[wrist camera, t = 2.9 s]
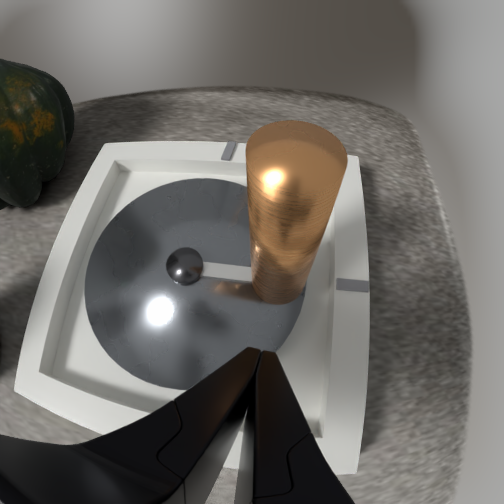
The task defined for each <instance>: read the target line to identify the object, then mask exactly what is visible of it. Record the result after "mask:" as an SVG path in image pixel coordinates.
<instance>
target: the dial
mask: <svg viewBox="0 0 504 504" xmlns="http://www.w3.org/2000/svg"><path fill="white" fill-rule="evenodd" d="M245 154H246V175H247V187H246V186H243V185H241V184H238V183H235V182H231V181H226V180H221V179H213V178H194V179H185V180H180V181H175V182H171V183H168V184H165V185H162V186H159V187H157V188H154V189H152V190H150V191H148V192H146V193H144V194H143V195H141V196H139V197H137V198H136V199H135V200H133V201H132V202H130V203H129V204H128V205H126V206H125V207H124V208H123V209H122V210H121V211H120V212H118V213H117V215H116V216H115V217H114V218H113V219H112V220H111V221H110V222H109V224H108V225H107V226H106V228H105V229H104V230H103V232H102V233H101V235H100V237H99V238H98V240H97V242H96V244H95V246H94V248H93V251H92V253H91V255H90V259H89V262H88V266H87V270H86V276H85V287H84V296H85V306H86V311H87V315H88V319H89V322H90V325H91V327H92V330H93V332H94V334H95V336H96V338H97V340H98V341H99V343H100V345H101V346H102V348H103V349H104V350H105V351H106V353H107V354H108V355H109V356H110V357H111V358H112V359H113V360H114V361H115V362H116V363H117V364H118V365H119V366H120V367H121V368H123V369H124V370H126V371H127V372H129V373H130V374H131V375H133V376H135V377H137V378H139V379H141V380H143V381H145V382H147V383H151V384H154V385H157V386H160V387H164V388H171V389H177V390H188V389H189V388H191V387H192V386H194V385H195V384H197V383H198V382H199V381H201V380H202V379H204V378H205V377H207V376H208V375H209V374H211V373H212V372H214V371H215V370H216V369H218V368H219V367H221V366H222V365H223V364H225V363H226V362H228V361H229V360H230V359H232V358H233V357H234V356H236V355H237V354H238V353H240V352H241V351H242V350H244V349H245V348H246V347H253V348H257V349H260V350H261V352H262V351H263V350H266V351H271V352H275V353H276V352H277V351H278V350H279V349H280V348H281V346H282V345H283V344H284V342H285V341H286V339H287V338H288V336H289V335H290V333H291V331H292V329H293V327H294V325H295V323H296V321H297V319H298V316H299V314H300V312H301V308H302V305H303V301H304V298H305V291H306V283H307V278H308V276H309V273H310V270H311V268H312V265H313V263H314V260H315V257H316V255H317V252H318V249H319V246H320V244H321V241H322V238H323V236H324V233H325V230H326V227H327V224H328V222H329V219H330V216H331V213H332V210H333V207H334V204H335V201H336V198H337V196H338V193H339V190H340V187H341V184H342V180H343V177H344V174H345V171H346V168H347V164H348V157H347V153H346V150H345V148H344V146H343V144H342V143H341V142H340V140H339V139H338V138H337V137H336V136H334V135H333V134H332V133H330V132H329V131H327V130H326V129H324V128H322V127H320V126H317V125H315V124H312V123H308V122H303V121H294V120H286V121H278V122H274V123H270V124H268V125H265V126H263V127H261V128H259V129H258V130H257V131H255V132H254V133H253V134H252V135H251V137H250V138H249V140H248V142H247V144H246V149H245Z"/></svg>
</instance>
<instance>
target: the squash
mask: <svg viewBox="0 0 504 504" xmlns="http://www.w3.org/2000/svg"><path fill="white" fill-rule="evenodd" d="M73 130H74V110H73V107H72V103H71V100H70V98H69V96H68V94H67V92H66V90H65V88H64V87H63V86H62V84H61V83H60V82H59V81H58V80H56V79H55V78H54V77H53V76H51V75H50V74H48V73H46V72H44V71H41V70H38V69H36V68H33V67H31V66H28V65H25V64H20V63H15V62H11V61H6V60H3V59H0V210H1V209H3V208H5V207H6V206H8V205H9V204H11V205H13V206H17V207H26V206H29V205H32V204H33V203H34V202H36V201H37V199H38V197H39V195H40V192H41V189H42V182H47V181H50V180H51V179H53V178H55V177H56V176H57V175H58V173H59V172H60V170H61V168H62V166H63V164H64V159H65V149H66V148H67V146H68V144H69V142H70V140H71V137H72V134H73Z"/></svg>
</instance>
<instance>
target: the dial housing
mask: <svg viewBox="0 0 504 504" xmlns="http://www.w3.org/2000/svg"><path fill="white" fill-rule="evenodd" d="M245 149H246V144H245V143H236V142H231V141H228V142H200V141H146V142H120V143H105V144H104V146H103V147H102V149H101V151H100V152H99V154H98V156H97V157H96V159H95V161H94V163H93V164H92V166H91V168H90V170H89V172H88V173H87V175H86V177H85V179H84V181H83V183H82V185H81V187H80V189H79V191H78V193H77V194H76V197H75V199H74V201H73V203H72V205H71V207H70V209H69V211H68V213H67V215H66V217H65V220H64V222H63V224H62V226H61V229H60V231H59V233H58V236H57V238H56V240H55V243H54V245H53V248H52V250H51V253H50V255H49V258H48V261H47V263H46V266H45V269H44V272H43V274H42V277H41V280H40V283H39V286H38V289H37V292H36V296H35V299H34V302H33V305H32V309H31V312H30V316H29V320H28V323H27V327H26V331H25V335H24V339H23V344H22V348H21V353H20V358H19V363H18V368H17V374H16V380H15V387H14V391H15V392H17V393H19V394H20V395H22V396H24V397H26V398H27V399H29V400H31V401H33V402H34V403H36V404H38V405H40V406H42V407H44V408H46V409H47V410H49V411H51V412H53V413H55V414H57V415H59V416H61V417H64V418H66V419H68V420H70V421H72V422H74V423H77V424H79V425H81V426H83V427H86V428H88V429H91V430H93V431H95V432H98V433H100V434H103V435H105V434H107V433H110V432H112V431H114V430H117V429H119V428H121V427H124V426H126V425H128V424H130V423H133V422H135V421H137V420H139V419H141V418H143V417H145V416H147V415H149V414H150V413H152V412H154V411H155V410H157V409H159V408H160V407H162V406H164V405H165V404H167V403H168V402H170V401H171V400H173V401H174V398H176V397H177V396H179V395H180V394H182V393H183V392H185V391H186V390H177V389H171V388H164V387H160V386H157V385H154V384H151V383H147V382H145V381H143V380H141V379H139V378H137V377H135V376H133V375H131V374H130V373H129V372H127V371H126V370H124V369H123V368H121V367H120V366H119V365H118V364H117V363H116V362H115V361H114V360H113V359H112V358H111V357H110V356H109V355H108V354H107V353H106V351H105V350H104V349H103V348H102V346H101V345H100V343H99V341H98V340H97V338H96V336H95V334H94V332H93V330H92V327H91V325H90V322H89V319H88V315H87V311H86V306H85V296H84V287H85V276H86V270H87V266H88V262H89V259H90V255H91V253H92V251H93V248H94V246H95V244H96V242H97V240H98V238H99V237H100V235H101V233H102V232H103V230H104V229H105V228H106V226H107V225H108V224H109V222H110V221H111V220H112V219H113V218H114V217H115V216H116V215H117V213H118V212H120V211H121V210H122V209H123V208H124V207H125V206H126V205H128V204H129V203H130V202H132V201H133V200H135V199H136V198H137V197H139V196H141V195H143V194H144V193H146V192H148V191H150V190H152V189H154V188H157V187H159V186H162V185H165V184H168V183H171V182H175V181H180V180H185V179H194V178H213V179H221V180H226V181H231V182H235V183H238V184H241V185H243V186H246V187H247V175H246V154H245ZM347 157H348V164H347V168H346V171H345V174H344V177H343V180H342V184H341V187H340V190H339V193H338V196H337V198H336V201H335V204H334V207H333V210H332V213H331V216H330V219H329V222H328V224H327V227H326V230H325V233H324V236H323V238H322V241H321V244H320V246H319V249H318V252H317V255H316V257H315V260H314V263H313V265H312V268H311V270H310V273H309V276H308V278H307V283H306V291H305V298H304V301H303V305H302V308H301V312H300V314H299V316H298V319H297V321H296V323H295V325H294V327H293V329H292V331H291V333H290V335H289V336H288V338H287V339H286V341H285V342H284V344H283V345H282V346H281V348H280V349H279V350H278V351H277V352H276V354H277V356H278V358H279V360H280V362H281V365H282V367H283V369H284V371H285V374H286V376H287V378H288V380H289V383H290V385H291V387H292V389H293V392H294V394H295V396H296V398H297V400H298V403H299V405H300V407H301V409H302V411H303V414H304V416H305V418H306V420H307V422H308V425H309V427H310V429H311V433H313V435H314V437H315V440H316V442H317V444H318V446H319V448H320V450H321V452H322V454H323V456H324V458H325V459H326V461H327V463H328V464H329V466H330V467H331V469H332V471H333V472H334V474H335V475H338V474H356V473H357V467H358V461H359V454H360V448H361V440H362V433H363V424H364V415H365V405H366V394H367V381H368V364H369V335H370V291H369V263H368V245H367V231H366V219H365V209H364V199H363V190H362V182H361V174H360V167H359V160H358V156H352V155H347ZM246 413H247V412H246ZM245 417H246V415H245ZM244 422H245V418H244V421H243V423H242V426H241V428H240V430H239V432H238V435H237V437H236V439H235V441H234V444H233V446H232V448H231V450H230V452H229V454H228V457H227V459H226V461H225V463H224V465H223V467H226V468H233V469H239V461H240V454H241V446H242V437H243V429H244Z"/></svg>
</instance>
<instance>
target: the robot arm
mask: <svg viewBox="0 0 504 504" xmlns="http://www.w3.org/2000/svg"><path fill="white" fill-rule="evenodd" d="M246 412H247V413H246ZM245 415H246V417H245ZM244 418H245V422H244V429H243V437H242V446H241V454H240V461H239V469H238V477H237V485H236V493H235V500H234V504H355V503H354V501H353V500H352V499H351V497H350V496H349V494H348V493H347V491H346V490H345V489H344V487H343V486H342V484H341V483H340V481H339V480H338V478H337V477H336V475H335V474H334V472H333V471H332V469H331V467H330V466H329V464H328V463H327V461H326V459H325V458H324V456H323V454H322V452H321V450H320V448H319V446H318V444H317V442H316V440H315V437H314V435H313V433H311V429H310V427H309V425H308V422H307V420H306V418H305V416H304V414H303V411H302V409H301V407H300V405H299V403H298V400H297V398H296V396H295V394H294V392H293V389H292V387H291V385H290V383H289V380H288V378H287V376H286V374H285V371H284V369H283V367H282V365H281V362H280V360H279V358H278V356H277V354H276V353H275V352H271V351H266V350H263V351H262V352H261V350H260V349H257V348H253V347H246V348H245V349H244V350H242V351H241V352H240V353H238V354H237V355H236V356H234V357H233V358H232V359H230V360H229V361H228V362H226V363H225V364H223V365H222V366H221V367H219V368H218V369H216V370H215V371H214V372H212V373H211V374H209V375H208V376H207V377H205V378H204V379H202V380H201V381H199V382H198V383H197V384H195V385H194V386H192V387H191V388H189V389H188V390H186V391H185V392H183V393H182V394H180V395H179V396H177V397H176V398H174V401H173V400H171V401H170V402H168V403H167V404H165V405H164V406H162V407H160V408H159V409H157V410H155V411H154V412H152V413H150V414H149V415H147V416H145V417H143V418H141V419H139V420H137V421H135V422H133V423H130V424H128V425H126V426H124V427H121V428H119V429H117V430H114V431H112V432H110V433H107V434H105V435H102V436H100V437H97V438H95V439H92V440H90V441H87V442H83V443H79V444H73V445H59V444H51V443H44V442H37V441H31V440H25V439H19V438H14V437H9V436H5V435H0V504H205V502H206V500H207V498H208V496H209V494H210V492H211V490H212V488H213V486H214V484H215V482H216V480H217V478H218V476H219V473H220V471H221V469H222V467H223V465H224V463H225V461H226V459H227V457H228V454H229V452H230V450H231V448H232V446H233V444H234V441H235V439H236V437H237V435H238V432H239V430H240V428H241V426H242V423H243V421H244Z"/></svg>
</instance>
